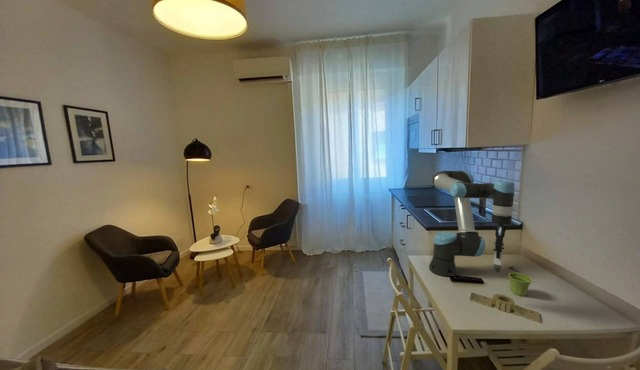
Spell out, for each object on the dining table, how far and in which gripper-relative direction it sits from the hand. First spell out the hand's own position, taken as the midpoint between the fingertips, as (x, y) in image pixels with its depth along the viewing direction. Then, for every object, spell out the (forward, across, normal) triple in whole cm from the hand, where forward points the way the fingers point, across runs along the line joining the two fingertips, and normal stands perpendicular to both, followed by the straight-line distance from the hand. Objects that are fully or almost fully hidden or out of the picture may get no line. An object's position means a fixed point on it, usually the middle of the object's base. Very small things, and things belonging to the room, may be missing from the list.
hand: (497, 263), depth 119 cm
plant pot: (+19, +17, -9) cm, 27 cm away
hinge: (+20, -2, -3) cm, 20 cm away
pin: (+4, 0, 0) cm, 4 cm away
